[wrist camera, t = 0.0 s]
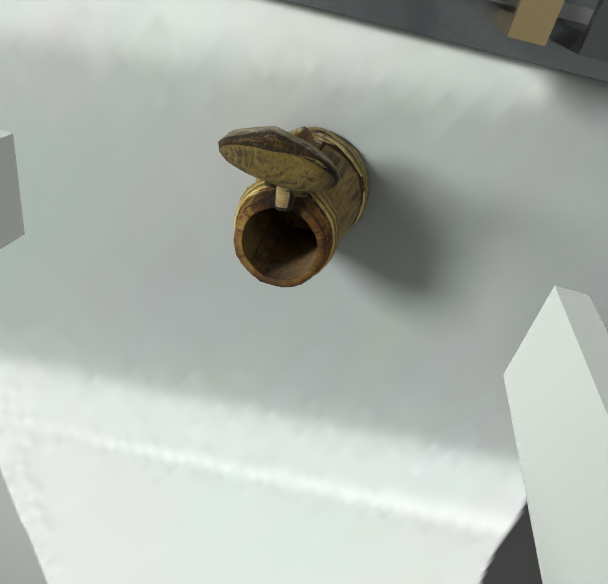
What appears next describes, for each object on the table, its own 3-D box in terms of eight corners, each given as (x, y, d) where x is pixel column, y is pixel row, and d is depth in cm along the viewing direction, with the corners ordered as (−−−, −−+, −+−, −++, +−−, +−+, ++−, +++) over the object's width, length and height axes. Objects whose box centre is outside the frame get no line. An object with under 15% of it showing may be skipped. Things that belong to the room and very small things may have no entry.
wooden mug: (400, 80, 36) (379, 156, 21) (354, 248, 43) (314, 393, 28) (277, 51, 36) (171, 104, 21) (253, 221, 44) (162, 349, 29)
